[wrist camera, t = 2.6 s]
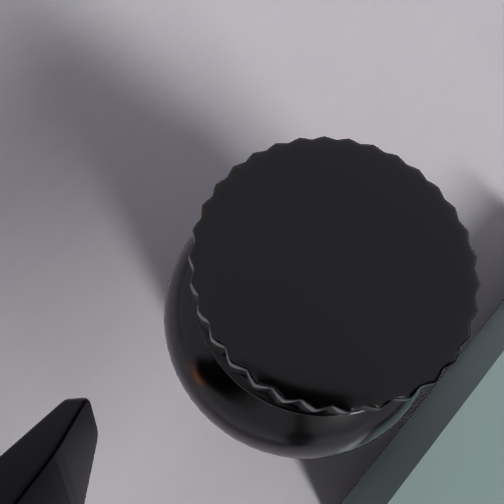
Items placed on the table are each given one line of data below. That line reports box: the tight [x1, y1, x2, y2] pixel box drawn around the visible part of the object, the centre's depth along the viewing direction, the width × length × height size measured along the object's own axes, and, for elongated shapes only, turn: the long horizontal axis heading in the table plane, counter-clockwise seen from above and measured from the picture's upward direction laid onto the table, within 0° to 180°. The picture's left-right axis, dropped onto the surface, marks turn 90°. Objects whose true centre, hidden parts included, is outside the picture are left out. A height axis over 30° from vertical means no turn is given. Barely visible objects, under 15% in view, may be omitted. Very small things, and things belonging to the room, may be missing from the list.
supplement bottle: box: [164, 136, 480, 459], centre depth 12 cm, size 7×7×12 cm
